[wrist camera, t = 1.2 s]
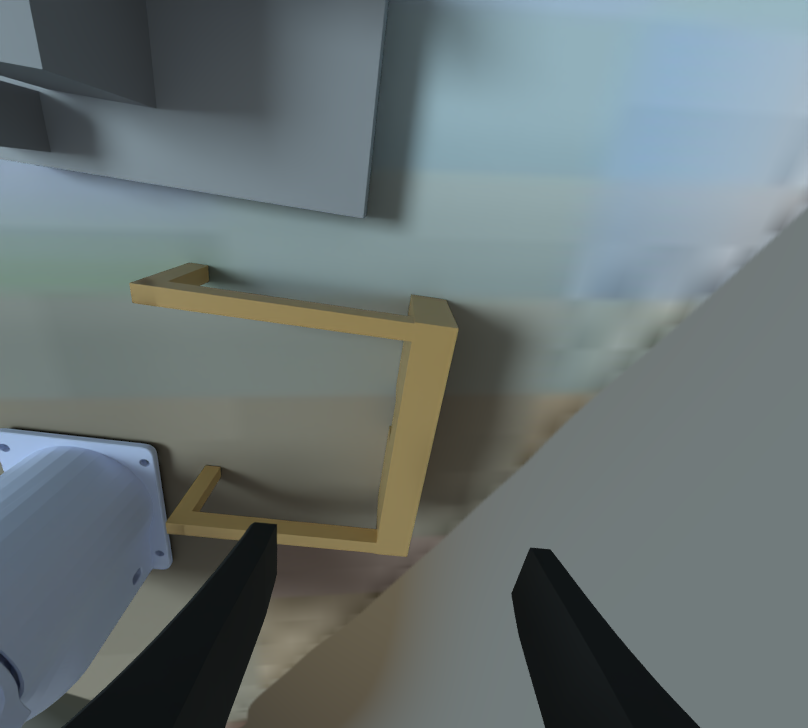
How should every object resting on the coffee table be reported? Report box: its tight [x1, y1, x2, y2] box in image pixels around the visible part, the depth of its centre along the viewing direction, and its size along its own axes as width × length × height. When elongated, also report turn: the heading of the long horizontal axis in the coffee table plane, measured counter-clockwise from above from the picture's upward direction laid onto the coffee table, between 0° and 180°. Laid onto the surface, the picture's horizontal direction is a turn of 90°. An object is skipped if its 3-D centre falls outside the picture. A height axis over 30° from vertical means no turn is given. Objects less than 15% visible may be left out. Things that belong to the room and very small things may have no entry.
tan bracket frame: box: [130, 263, 459, 557], centre depth 17 cm, size 11×12×4 cm
